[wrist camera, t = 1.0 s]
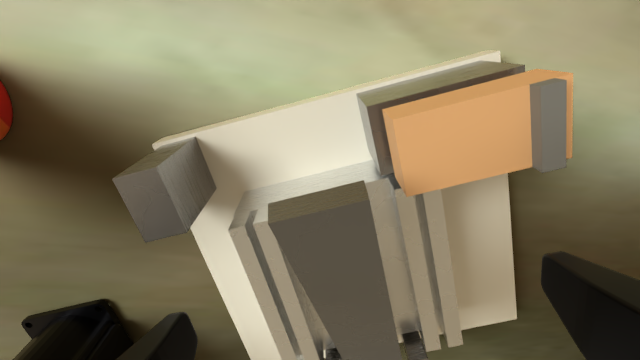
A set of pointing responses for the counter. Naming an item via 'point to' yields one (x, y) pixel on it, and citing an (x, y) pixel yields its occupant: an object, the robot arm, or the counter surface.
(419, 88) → the grey piece
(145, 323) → the counter surface
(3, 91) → the paper cup
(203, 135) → the board
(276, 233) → the grey lever
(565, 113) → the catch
